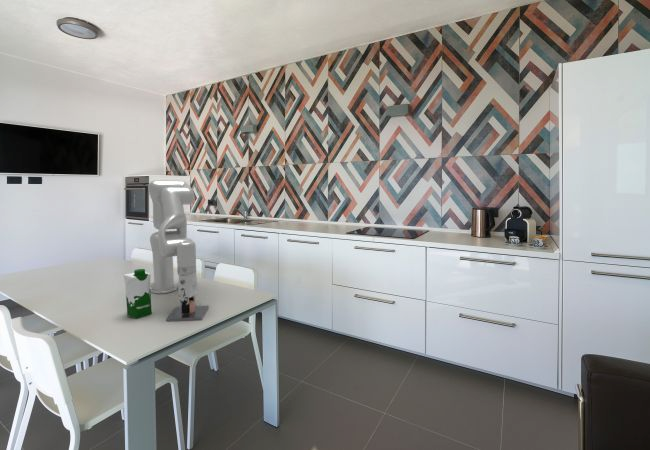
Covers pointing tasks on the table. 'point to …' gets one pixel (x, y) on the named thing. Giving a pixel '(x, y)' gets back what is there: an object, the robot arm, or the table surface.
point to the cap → (191, 306)
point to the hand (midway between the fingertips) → (188, 310)
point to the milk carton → (138, 293)
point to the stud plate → (196, 315)
